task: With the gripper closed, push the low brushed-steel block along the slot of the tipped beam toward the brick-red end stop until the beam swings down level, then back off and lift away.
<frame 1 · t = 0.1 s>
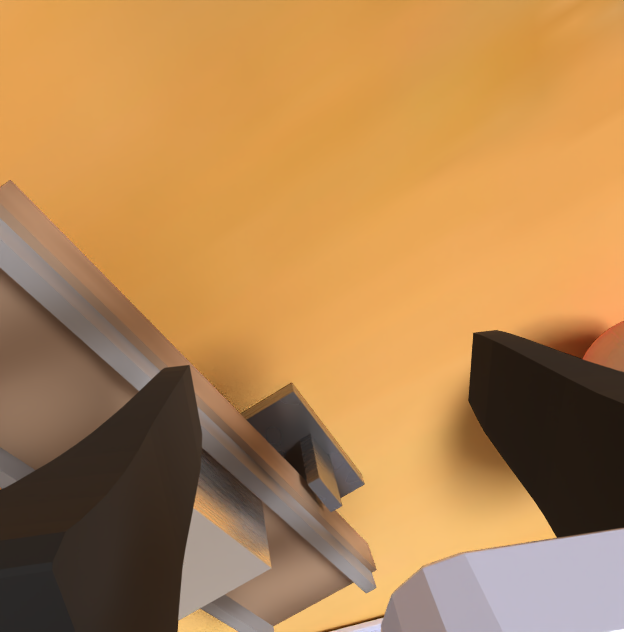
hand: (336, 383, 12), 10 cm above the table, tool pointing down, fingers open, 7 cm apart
beam: (171, 495, 19), point 5 cm above the table, hinge at -9.2°, touching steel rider
fulcrum stand: (244, 480, 26), on the table
decorative fruit: (605, 355, 26), on the table
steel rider: (181, 497, 19), point 5 cm above the table, tilted 9°, touching beam
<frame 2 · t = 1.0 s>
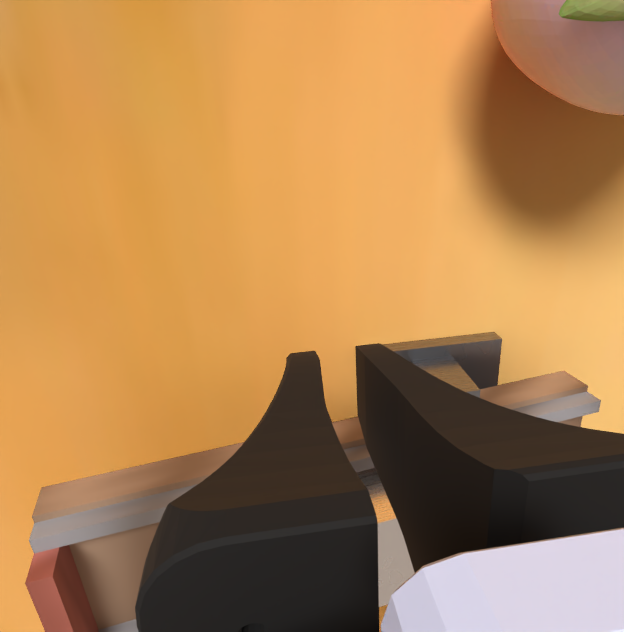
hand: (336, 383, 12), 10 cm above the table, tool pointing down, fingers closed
beam: (352, 514, 21), point 5 cm above the table, hinge at -8.8°, touching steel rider
fulcrum stand: (423, 427, 26), on the table
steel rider: (363, 506, 21), point 5 cm above the table, tilted 9°, touching beam
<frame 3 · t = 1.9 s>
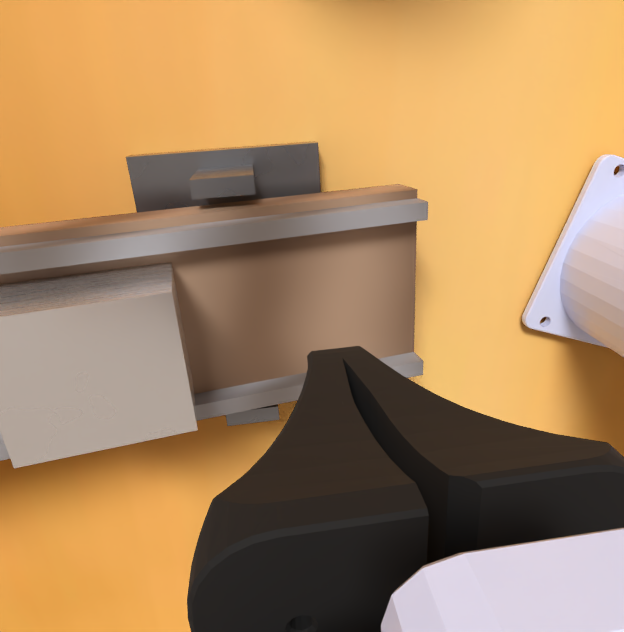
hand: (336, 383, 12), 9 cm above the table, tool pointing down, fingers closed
beam: (81, 344, 16), point 5 cm above the table, hinge at -8.5°, touching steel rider
fulcrum stand: (240, 277, 21), on the table
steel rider: (103, 337, 16), point 5 cm above the table, tilted 8°, touching beam
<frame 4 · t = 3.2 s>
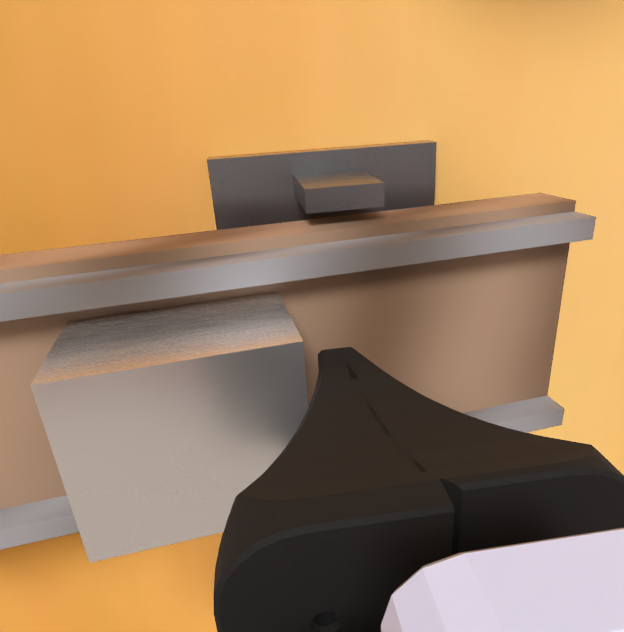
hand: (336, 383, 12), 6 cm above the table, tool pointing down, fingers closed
beam: (165, 393, 12), point 5 cm above the table, hinge at -6.6°, touching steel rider
fulcrum stand: (328, 301, 18), on the table
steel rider: (190, 384, 13), point 5 cm above the table, tilted 6°, touching beam, gripper
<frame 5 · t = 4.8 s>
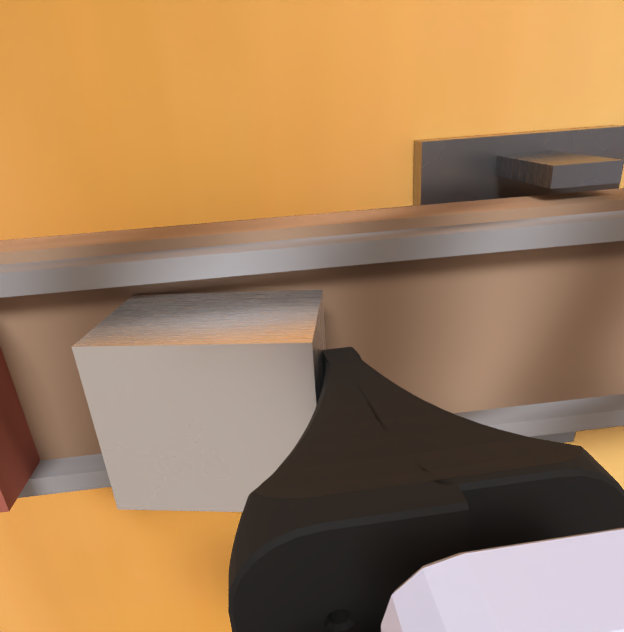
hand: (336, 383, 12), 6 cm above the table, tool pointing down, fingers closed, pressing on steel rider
beam: (402, 345, 14), point 4 cm above the table, hinge at 1.2°
fulcrum stand: (501, 279, 18), on the table
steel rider: (236, 367, 13), point 5 cm above the table, tilted 12°, touching gripper
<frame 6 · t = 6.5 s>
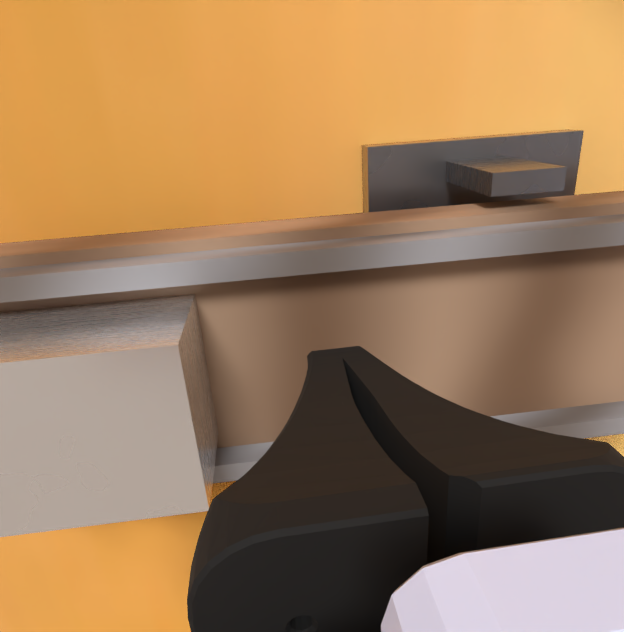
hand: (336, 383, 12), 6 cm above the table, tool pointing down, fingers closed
beam: (341, 358, 14), point 4 cm above the table, hinge at 1.2°, touching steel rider
fulcrum stand: (458, 287, 18), on the table
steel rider: (114, 378, 13), point 4 cm above the table, touching beam
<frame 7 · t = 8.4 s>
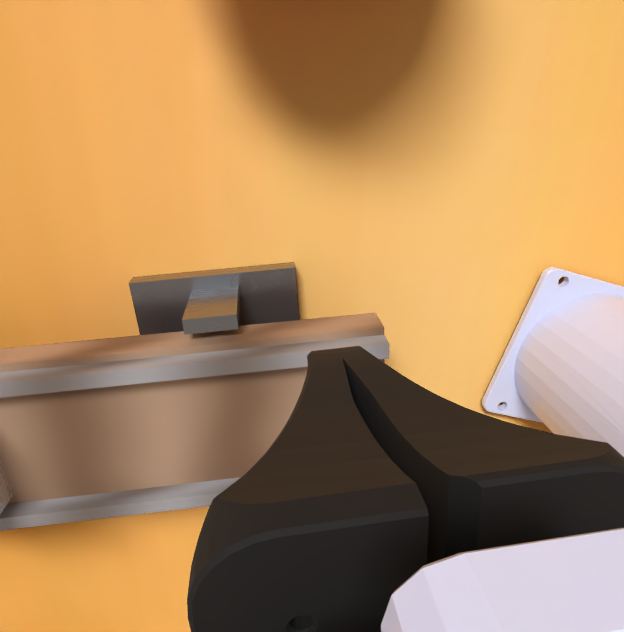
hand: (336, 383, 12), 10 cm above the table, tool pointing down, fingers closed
beam: (91, 443, 19), point 4 cm above the table, hinge at 1.2°, touching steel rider
fulcrum stand: (229, 373, 24), on the table
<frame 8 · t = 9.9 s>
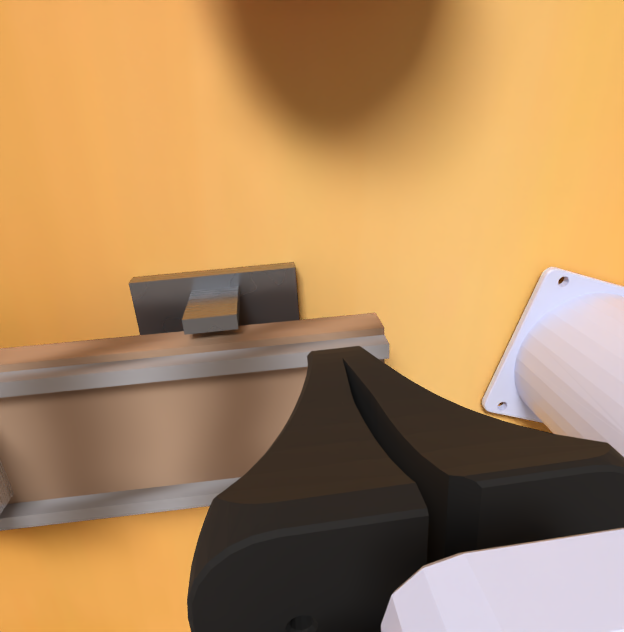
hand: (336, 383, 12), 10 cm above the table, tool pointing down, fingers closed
beam: (91, 443, 19), point 4 cm above the table, hinge at 1.2°, touching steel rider
fulcrum stand: (229, 373, 24), on the table
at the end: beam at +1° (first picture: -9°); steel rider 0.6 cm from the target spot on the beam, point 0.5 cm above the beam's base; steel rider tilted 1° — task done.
